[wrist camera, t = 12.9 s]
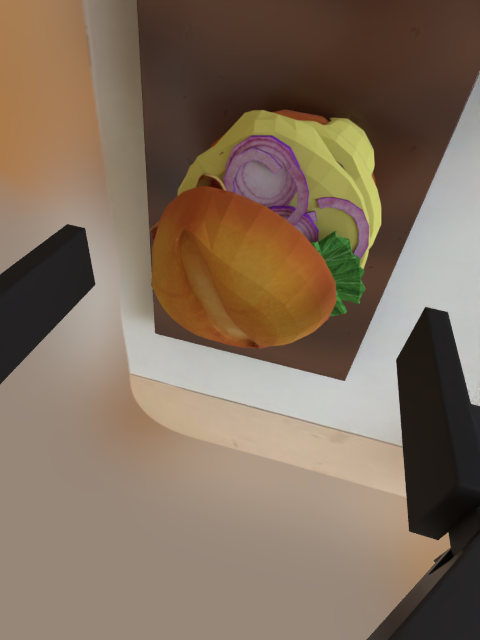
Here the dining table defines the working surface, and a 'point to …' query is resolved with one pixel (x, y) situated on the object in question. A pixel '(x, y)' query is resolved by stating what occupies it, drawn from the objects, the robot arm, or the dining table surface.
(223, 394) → the dining table surface
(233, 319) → the cheeseburger
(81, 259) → the robot arm
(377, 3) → the serving board
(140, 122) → the dining table surface
